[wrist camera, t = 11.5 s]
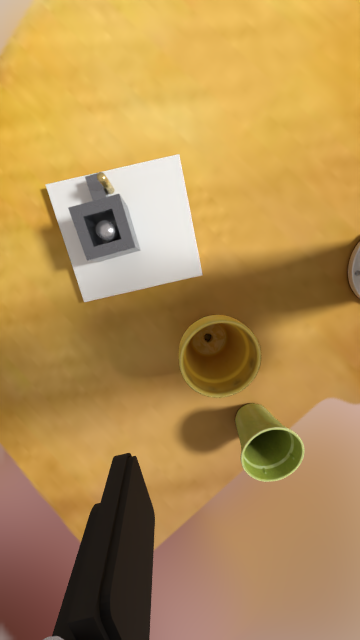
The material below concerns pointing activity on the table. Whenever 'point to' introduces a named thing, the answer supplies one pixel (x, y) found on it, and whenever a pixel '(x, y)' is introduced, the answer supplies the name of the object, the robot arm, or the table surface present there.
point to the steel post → (107, 231)
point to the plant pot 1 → (219, 356)
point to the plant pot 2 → (267, 444)
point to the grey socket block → (100, 210)
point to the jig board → (149, 224)
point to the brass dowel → (105, 182)
